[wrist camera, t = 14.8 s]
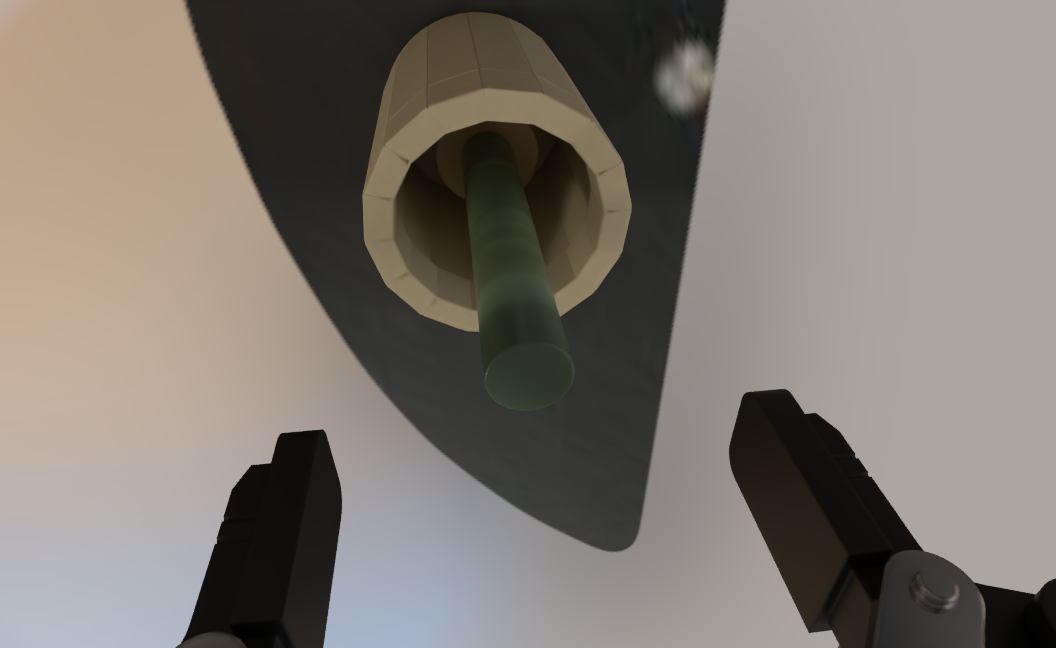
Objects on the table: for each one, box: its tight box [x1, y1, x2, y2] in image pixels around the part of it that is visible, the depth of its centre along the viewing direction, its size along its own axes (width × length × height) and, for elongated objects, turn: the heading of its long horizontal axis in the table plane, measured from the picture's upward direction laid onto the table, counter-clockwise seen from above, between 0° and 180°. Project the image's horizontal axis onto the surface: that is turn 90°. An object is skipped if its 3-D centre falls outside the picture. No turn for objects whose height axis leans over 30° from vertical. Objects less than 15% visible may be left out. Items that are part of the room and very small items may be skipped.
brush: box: [435, 121, 574, 411], centre depth 21 cm, size 4×4×18 cm
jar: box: [363, 12, 632, 331], centre depth 24 cm, size 8×8×11 cm
